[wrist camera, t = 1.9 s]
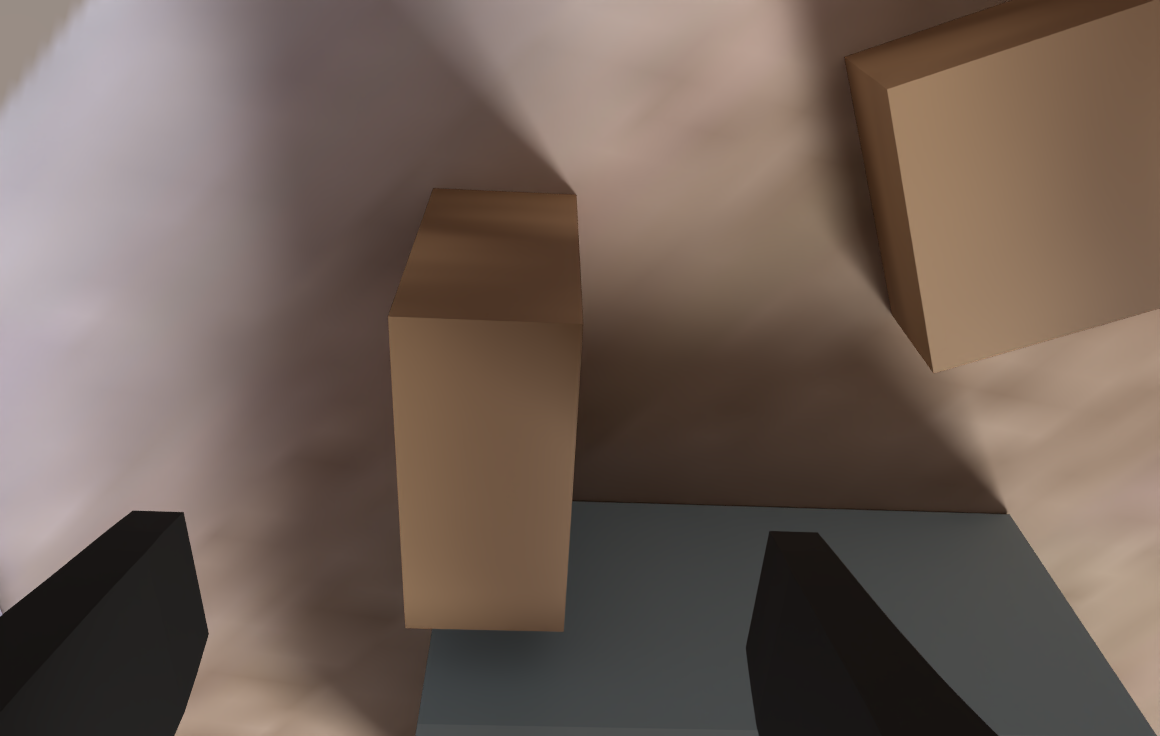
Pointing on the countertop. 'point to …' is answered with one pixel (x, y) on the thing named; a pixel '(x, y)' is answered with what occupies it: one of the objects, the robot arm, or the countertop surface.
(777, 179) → the countertop surface
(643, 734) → the box
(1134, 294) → the block
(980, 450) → the countertop surface
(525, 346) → the block
